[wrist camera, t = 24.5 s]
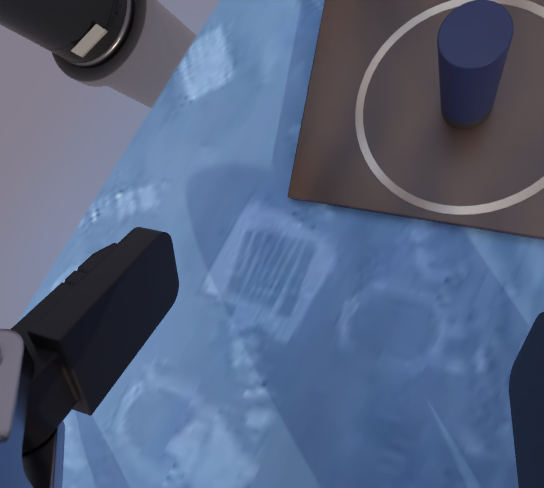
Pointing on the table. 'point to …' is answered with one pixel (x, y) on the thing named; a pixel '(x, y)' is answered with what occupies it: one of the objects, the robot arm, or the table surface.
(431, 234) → the table surface
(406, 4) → the brown wooden board
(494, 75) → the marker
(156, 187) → the table surface
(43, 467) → the robot arm
